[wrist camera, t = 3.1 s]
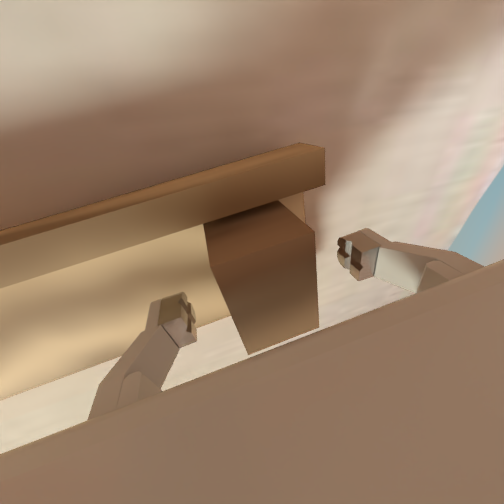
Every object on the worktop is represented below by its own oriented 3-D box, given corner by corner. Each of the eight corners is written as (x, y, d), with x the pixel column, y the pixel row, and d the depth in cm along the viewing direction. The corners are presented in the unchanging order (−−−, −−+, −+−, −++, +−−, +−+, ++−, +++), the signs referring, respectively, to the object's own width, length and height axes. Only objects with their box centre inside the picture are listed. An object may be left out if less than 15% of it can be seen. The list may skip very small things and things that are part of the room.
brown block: (285, 282, 16) (319, 338, 12) (235, 300, 15) (252, 365, 11) (269, 193, 12) (314, 231, 8) (201, 214, 11) (210, 267, 7)
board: (299, 271, 18) (326, 308, 15) (-14, 383, 16) (-72, 460, 12) (284, 139, 12) (324, 147, 9) (-224, 287, 10) (-457, 382, 6)
